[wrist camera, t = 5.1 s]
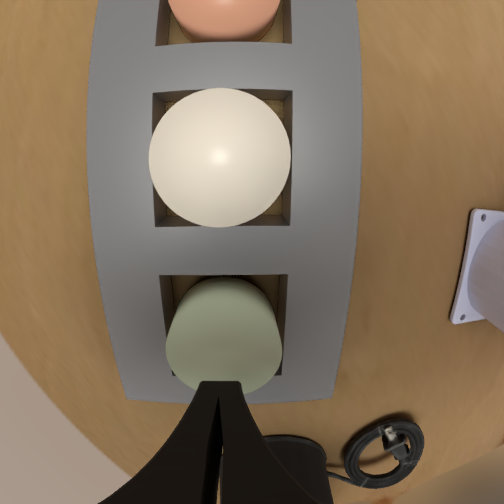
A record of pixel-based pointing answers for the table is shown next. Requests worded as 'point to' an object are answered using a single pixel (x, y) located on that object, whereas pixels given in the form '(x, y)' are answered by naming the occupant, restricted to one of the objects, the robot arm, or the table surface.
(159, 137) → the button cream
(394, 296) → the table surface
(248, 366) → the button sage
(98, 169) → the button board
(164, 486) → the robot arm
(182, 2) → the button terracotta
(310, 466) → the milk frother
